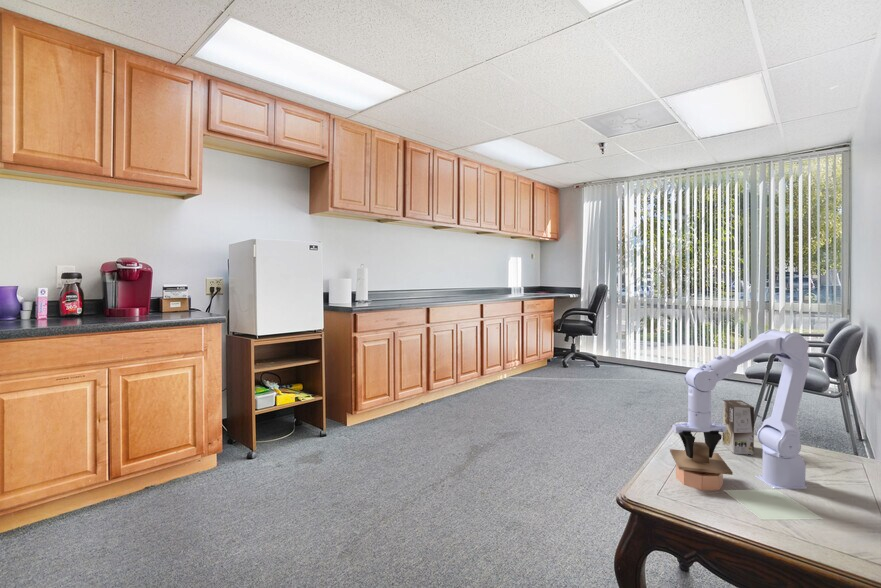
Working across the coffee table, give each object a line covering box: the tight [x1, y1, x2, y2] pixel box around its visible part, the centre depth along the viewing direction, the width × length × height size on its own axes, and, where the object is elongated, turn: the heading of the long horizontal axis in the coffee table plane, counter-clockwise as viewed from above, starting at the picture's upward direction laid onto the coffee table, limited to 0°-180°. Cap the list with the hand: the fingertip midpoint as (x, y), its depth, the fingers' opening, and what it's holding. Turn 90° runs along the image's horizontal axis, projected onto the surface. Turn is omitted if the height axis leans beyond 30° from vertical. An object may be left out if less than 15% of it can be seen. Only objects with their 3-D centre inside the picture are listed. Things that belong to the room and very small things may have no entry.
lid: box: [669, 441, 734, 476], centre depth 127 cm, size 13×13×5 cm
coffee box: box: [722, 399, 755, 456], centre depth 151 cm, size 9×6×16 cm
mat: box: [722, 489, 824, 521], centre depth 114 cm, size 15×15×1 cm
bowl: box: [675, 463, 724, 491], centre depth 128 cm, size 11×11×4 cm
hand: (699, 456), depth 127 cm, fingers closed on lid, 5 cm apart
